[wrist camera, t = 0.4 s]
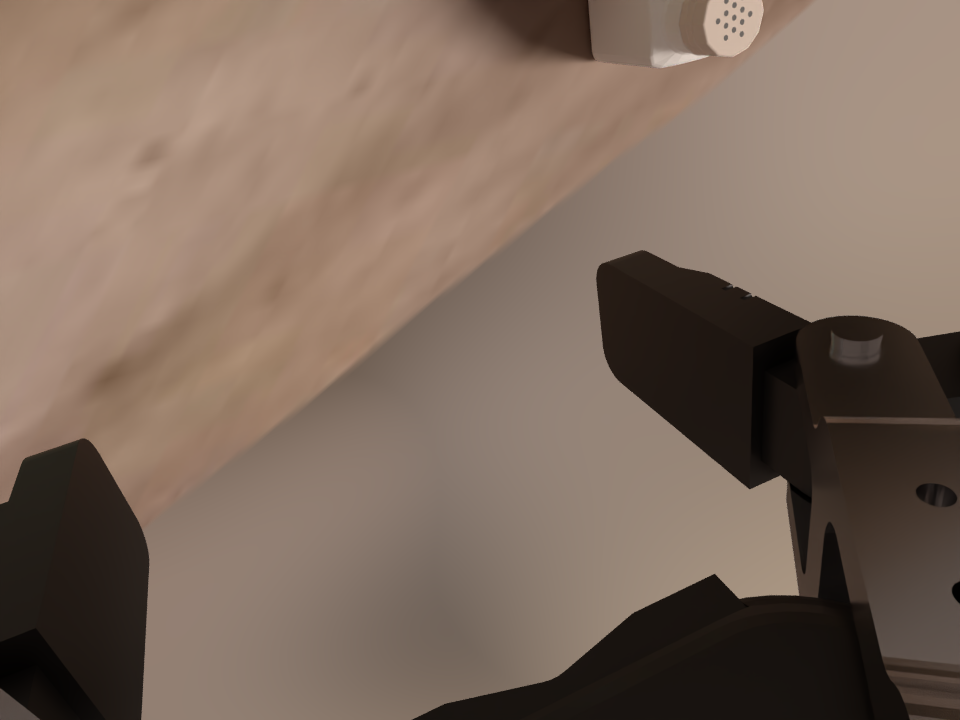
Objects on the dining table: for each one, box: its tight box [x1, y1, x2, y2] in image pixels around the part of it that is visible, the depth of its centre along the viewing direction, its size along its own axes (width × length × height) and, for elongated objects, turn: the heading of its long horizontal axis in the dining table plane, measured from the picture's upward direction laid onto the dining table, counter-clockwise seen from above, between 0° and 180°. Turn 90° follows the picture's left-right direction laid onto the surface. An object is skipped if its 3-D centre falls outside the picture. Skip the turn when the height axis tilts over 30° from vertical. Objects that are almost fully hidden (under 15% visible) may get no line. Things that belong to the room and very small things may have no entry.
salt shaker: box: [588, 0, 764, 68], centre depth 34 cm, size 4×4×10 cm
